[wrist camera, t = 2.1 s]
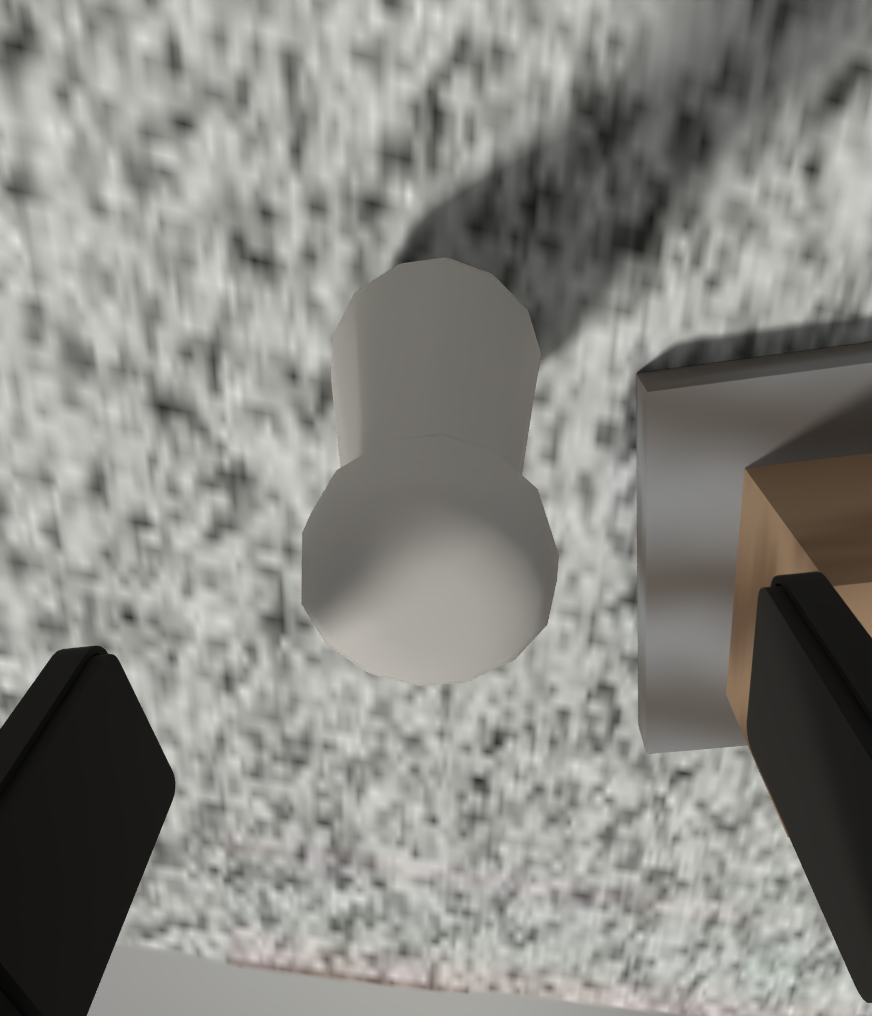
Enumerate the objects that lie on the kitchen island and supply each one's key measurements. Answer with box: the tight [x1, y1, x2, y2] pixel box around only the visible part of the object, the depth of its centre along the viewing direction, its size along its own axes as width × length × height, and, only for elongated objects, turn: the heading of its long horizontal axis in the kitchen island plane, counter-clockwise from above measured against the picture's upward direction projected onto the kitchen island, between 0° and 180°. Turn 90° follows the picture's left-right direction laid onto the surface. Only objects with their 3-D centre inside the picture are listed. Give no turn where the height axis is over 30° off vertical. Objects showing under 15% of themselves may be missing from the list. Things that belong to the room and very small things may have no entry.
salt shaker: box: [302, 257, 559, 686], centre depth 17 cm, size 6×6×13 cm
